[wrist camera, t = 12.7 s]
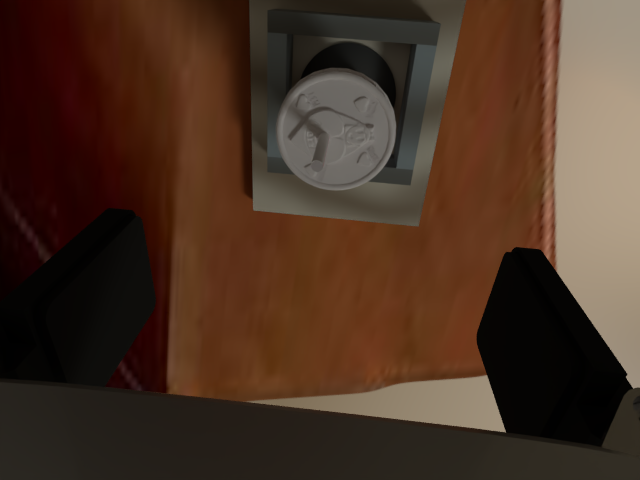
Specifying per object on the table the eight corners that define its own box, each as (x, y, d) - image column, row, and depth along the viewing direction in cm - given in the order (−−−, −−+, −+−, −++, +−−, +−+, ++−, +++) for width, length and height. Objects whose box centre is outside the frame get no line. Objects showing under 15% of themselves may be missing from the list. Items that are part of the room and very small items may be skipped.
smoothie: (292, 52, 29) (243, 96, 17) (386, 42, 28) (404, 80, 16) (303, 142, 32) (270, 233, 20) (388, 136, 31) (405, 226, 19)
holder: (253, -81, 27) (234, -93, 23) (474, -65, 26) (494, -75, 22) (256, 202, 37) (244, 227, 33) (416, 217, 37) (422, 244, 33)
